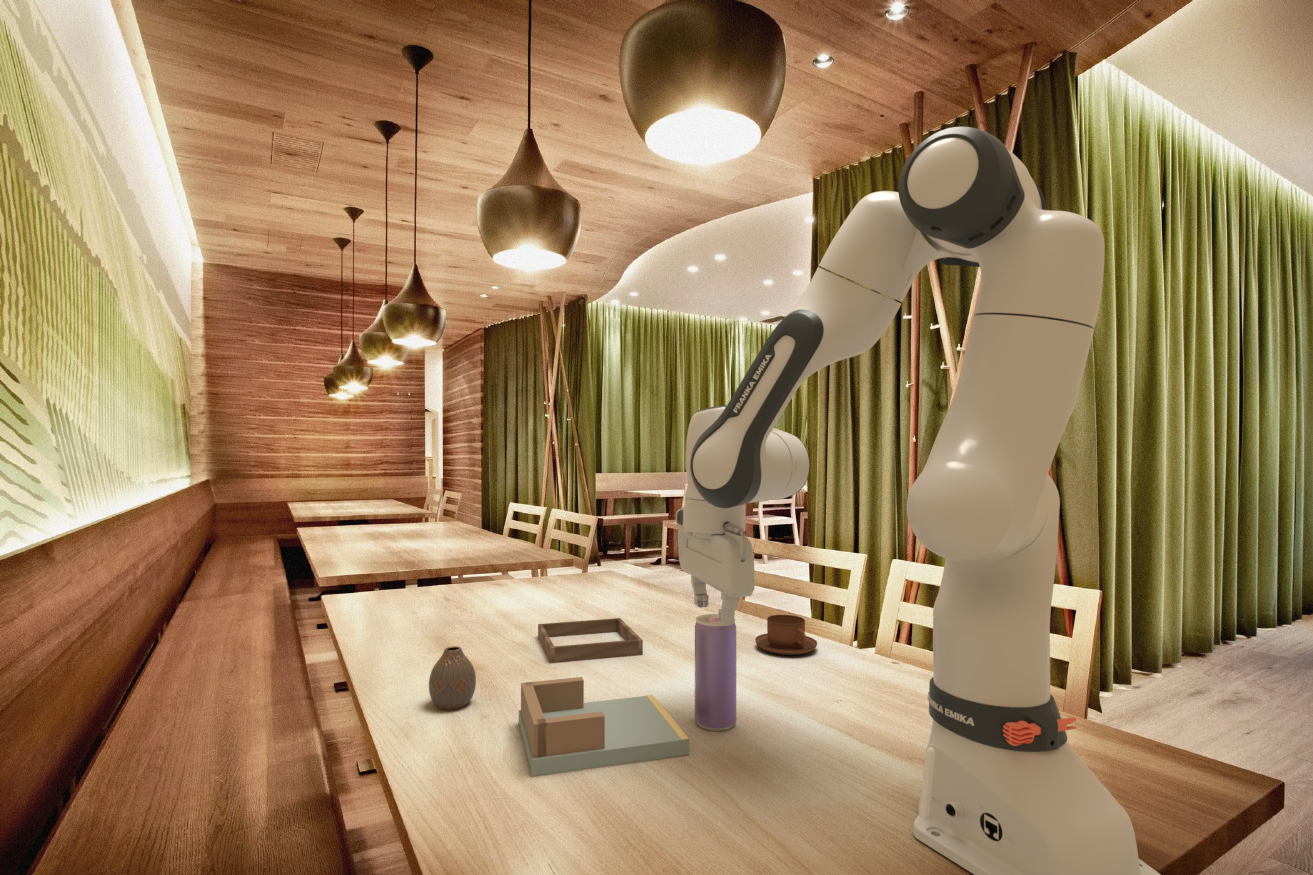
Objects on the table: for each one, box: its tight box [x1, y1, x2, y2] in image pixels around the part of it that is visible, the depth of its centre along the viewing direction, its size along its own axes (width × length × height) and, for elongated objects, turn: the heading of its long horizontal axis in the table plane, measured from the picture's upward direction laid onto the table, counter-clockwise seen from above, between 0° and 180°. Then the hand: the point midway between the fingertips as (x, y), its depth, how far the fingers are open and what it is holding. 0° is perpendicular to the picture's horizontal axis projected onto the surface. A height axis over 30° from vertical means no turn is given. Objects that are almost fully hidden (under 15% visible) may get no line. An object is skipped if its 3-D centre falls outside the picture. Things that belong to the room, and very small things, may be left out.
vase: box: [428, 645, 477, 711], centre depth 101 cm, size 7×7×9 cm
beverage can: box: [694, 613, 737, 732], centre depth 95 cm, size 6×6×15 cm
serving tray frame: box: [537, 617, 644, 664], centre depth 131 cm, size 18×18×3 cm
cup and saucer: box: [754, 614, 818, 656], centre depth 130 cm, size 12×12×6 cm
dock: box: [518, 676, 690, 778], centre depth 89 cm, size 16×20×6 cm
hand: (713, 614), depth 95 cm, fingers open, 8 cm apart
